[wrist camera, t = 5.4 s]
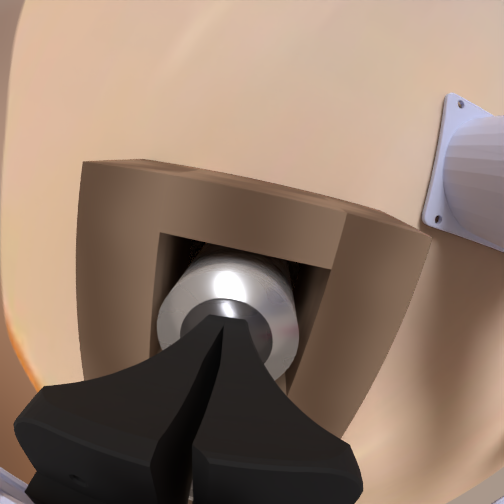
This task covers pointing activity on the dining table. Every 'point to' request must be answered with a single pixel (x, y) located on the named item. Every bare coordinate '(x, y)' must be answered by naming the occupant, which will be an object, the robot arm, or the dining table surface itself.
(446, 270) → the dining table surface
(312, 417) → the housing
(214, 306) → the knob
